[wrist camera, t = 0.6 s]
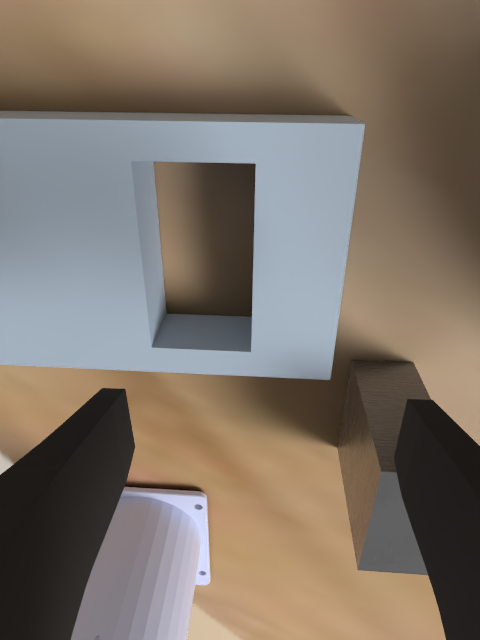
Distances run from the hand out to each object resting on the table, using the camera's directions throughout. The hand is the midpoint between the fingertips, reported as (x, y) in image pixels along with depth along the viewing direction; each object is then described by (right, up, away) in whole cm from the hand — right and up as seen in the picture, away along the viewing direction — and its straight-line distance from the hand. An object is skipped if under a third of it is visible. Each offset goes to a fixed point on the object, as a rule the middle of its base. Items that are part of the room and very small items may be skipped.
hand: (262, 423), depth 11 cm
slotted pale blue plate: (-5, +6, +8) cm, 11 cm away
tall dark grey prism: (+6, -2, +12) cm, 14 cm away
